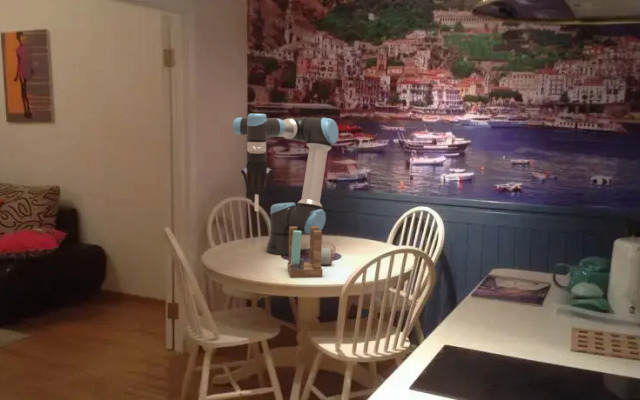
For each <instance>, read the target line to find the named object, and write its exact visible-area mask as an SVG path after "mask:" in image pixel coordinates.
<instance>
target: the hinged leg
mask: <svg viewBox="0 0 640 400" xmlns="http://www.w3.org/2000/svg"><path fill="white" fill-rule="evenodd" d="M302 234H303V233H302V232H301V231H294V230H293V240H292V253H291V266H292V264H299V263H300V258H301V248H302V236H303V235H302Z"/></svg>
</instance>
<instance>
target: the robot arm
mask: <svg viewBox="0 0 640 400" xmlns="http://www.w3.org/2000/svg"><path fill="white" fill-rule="evenodd" d="M232 130H233V132H234V134H235V135H238V136H247V141H246V143H247V144H246V145H247V149H246V150H247V155H246V158H247V160H246V165H245V167H244V168H243V169H241V170H240V173H241V174H242V175H243V180H244V183H245V188H246V191H247V194H250V195H251V203H253V204H254V211H255V212H259V211H260V210H259V204H260V203H262V195H263V194H266V193H267V191H268V190H267V189H268V185H269V181H270V177H271V175H272V174H273V169H271V168H269V167H268V165H267V153H266V152H267V138H273V137H274V138H276V137H281V138H282V137H283V138H284V139H285V140H293V141H299V142H302V143H304V142H305V143H306V146H307V148H308V154H307V155H308V156H307V160H306V167H305V175H304V181H303V187H302V192H301V193H302V194H301V199H300V200H299V201H298V202H297V205H296V202H280V203H275V204H272V205H271V207H270V213H269V214H270V217H269V219H270V226H269V229H270V233H269V238H268V242H267V244H266V252H267V253H269V254H272V255H277V256H278V255H279V256H280V255H281V256H282V255H283V256H285V255H288V256H289V227H293V226H297V231H301V232H302V234H307V235H310V226H318V227H319V230H321V231H322V230H323V229H324V226H325V224H326V219H327V218H326V217H327V215H326V212H325V211H324V209H323V205H322V203H321V197H322V190H323V183H324V177H325V171H326V163H327V157H328V152H329V151H330V150H332V147H333V145H334V144H336V143H337V141H338V140H339V127H338V124H337V122H336V121H335V120H334V119H332V118H328V117H307V116H306V117H295V118H294V117H293V118H286V119H281V118H277V117H273V118H270V117H269V118H268V117H267V114H265V113H248V115H247V117H244V116H242V117H241V116H240V117H236V118H235V119H234V120H233V123H232ZM248 172H249V174H250V175H251V188H250V184H249V180H248V176H247V173H248ZM264 173H266V175H265V179H264V185H263V188H262V178H263V176H262V175H264ZM256 176H257V177H258V178H257V184H258V185H257V190H258V191H257V193H256Z"/></svg>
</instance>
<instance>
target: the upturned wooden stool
mask: <svg viewBox="0 0 640 400" xmlns="http://www.w3.org/2000/svg"><path fill="white" fill-rule="evenodd" d="M293 230H294V231H297V226H293V227H289V254H288V261H287V272H288V275H289V277H290V278H291V279H294V278H295V279H297V278H307V279H308V278H323V268H322V265H321V249H322V248H323V247H322V245H323V243H322V242H323V241H322V240H323V239H322V237H323V231H322V230H319V227H318V226H310V234H309V235H310V236H309V241H310V242H309V261H305V259H304V257H300V263H299V264H292V266H291V253H292V240H293Z"/></svg>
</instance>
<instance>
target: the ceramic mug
mask: <svg viewBox="0 0 640 400" xmlns="http://www.w3.org/2000/svg"><path fill="white" fill-rule="evenodd" d="M332 262H333V249H332V248H327V247H322V249H321V266H323V265H324V266H330V265H331V264H333V263H332Z"/></svg>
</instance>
